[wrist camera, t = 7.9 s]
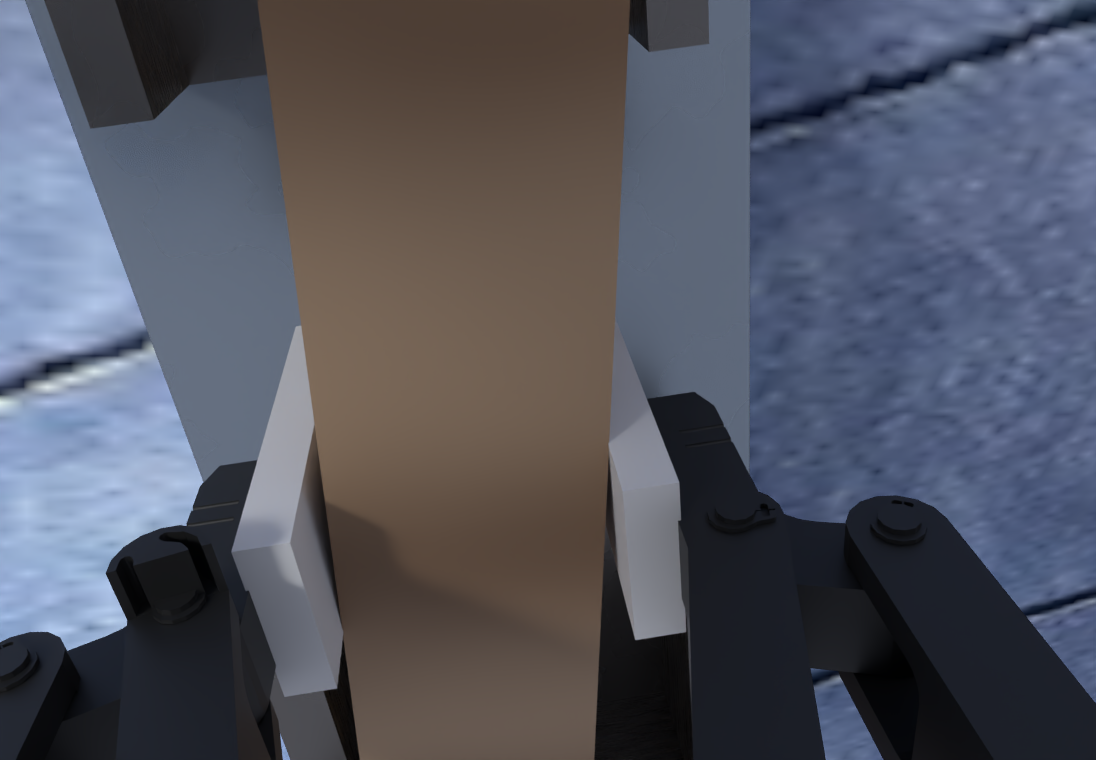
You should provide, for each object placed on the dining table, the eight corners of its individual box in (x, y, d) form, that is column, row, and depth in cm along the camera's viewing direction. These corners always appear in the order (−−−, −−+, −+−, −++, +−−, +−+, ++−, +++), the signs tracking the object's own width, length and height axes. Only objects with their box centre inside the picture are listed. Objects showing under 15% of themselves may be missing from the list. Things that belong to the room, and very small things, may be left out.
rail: (308, -139, 14) (237, -140, 9) (564, -137, 15) (636, -137, 10) (393, 687, 23) (382, 927, 18) (553, 675, 24) (586, 906, 18)
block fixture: (-177, -637, 14) (-1141, -1408, 5) (729, -730, 15) (1160, -1557, 6) (317, 748, 30) (273, 1107, 22) (738, 677, 31) (858, 1000, 22)
